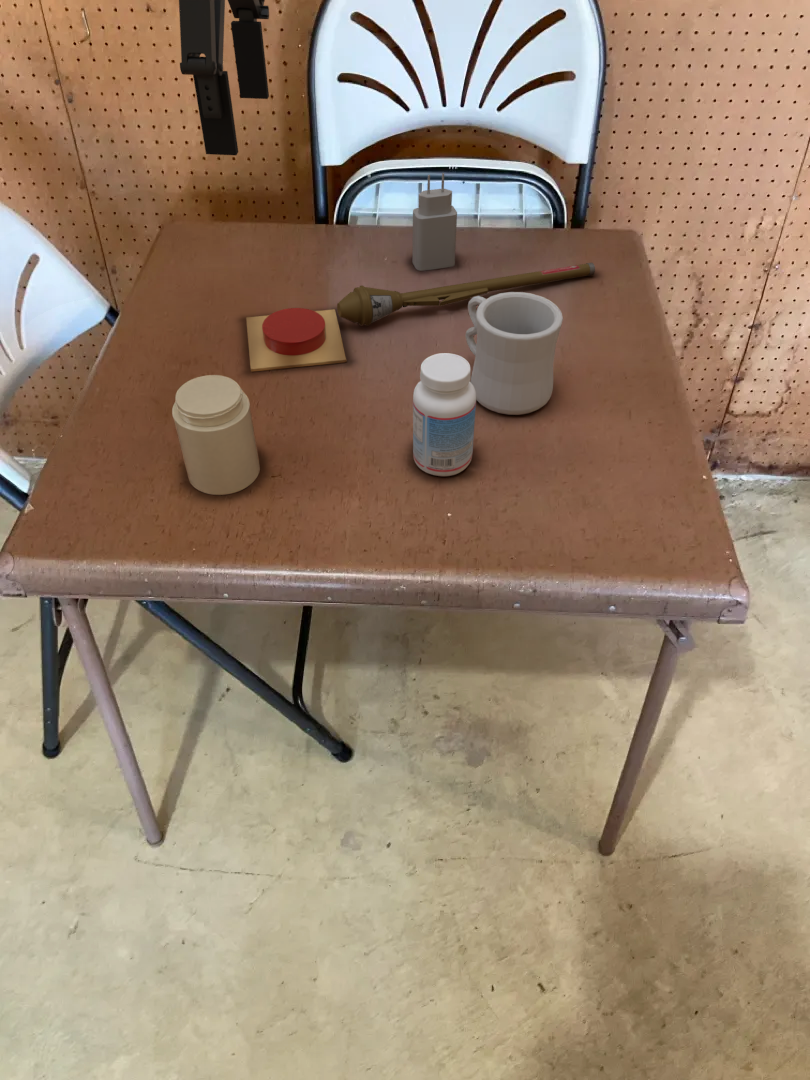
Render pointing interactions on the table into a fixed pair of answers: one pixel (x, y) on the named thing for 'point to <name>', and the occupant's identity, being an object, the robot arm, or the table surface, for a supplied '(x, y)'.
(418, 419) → the pill bottle
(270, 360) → the coaster
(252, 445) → the beige jar
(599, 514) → the table surface
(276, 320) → the lid
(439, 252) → the power adapter
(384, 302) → the toy grenade launcher
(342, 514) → the table surface
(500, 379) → the mug
